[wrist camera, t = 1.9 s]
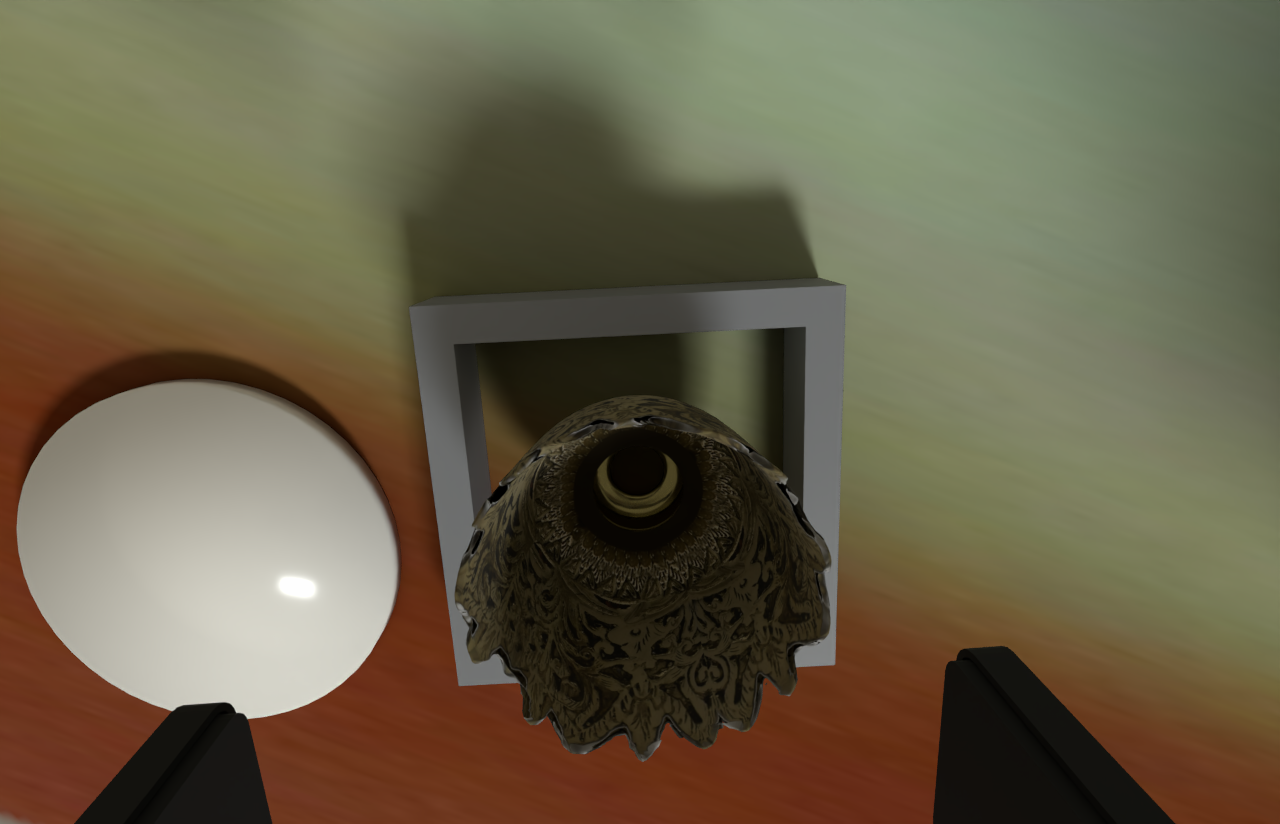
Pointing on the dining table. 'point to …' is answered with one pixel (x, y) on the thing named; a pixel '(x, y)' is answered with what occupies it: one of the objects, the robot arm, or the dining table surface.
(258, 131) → the dining table surface
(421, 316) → the pocket frame
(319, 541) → the coaster
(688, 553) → the ornate bronze lamp shade
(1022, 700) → the robot arm
